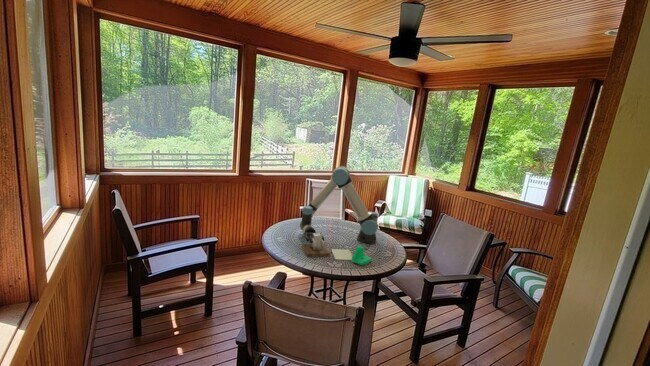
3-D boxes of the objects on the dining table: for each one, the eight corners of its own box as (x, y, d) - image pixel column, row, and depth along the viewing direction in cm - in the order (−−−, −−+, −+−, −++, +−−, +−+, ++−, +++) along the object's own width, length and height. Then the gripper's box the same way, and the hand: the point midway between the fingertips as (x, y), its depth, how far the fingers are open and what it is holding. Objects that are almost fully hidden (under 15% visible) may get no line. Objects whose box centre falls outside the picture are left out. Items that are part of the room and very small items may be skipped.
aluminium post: (317, 249, 209) (319, 233, 206) (320, 252, 204) (322, 236, 202) (310, 249, 207) (312, 233, 205) (313, 253, 202) (315, 236, 200)
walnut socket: (322, 246, 215) (323, 243, 215) (330, 256, 201) (330, 253, 200) (301, 246, 210) (301, 244, 210) (307, 256, 195) (307, 253, 195)
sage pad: (349, 250, 213) (349, 249, 213) (354, 260, 198) (354, 259, 198) (331, 249, 211) (331, 249, 211) (335, 259, 196) (335, 259, 196)
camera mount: (360, 266, 190) (362, 251, 188) (351, 262, 195) (353, 247, 193) (371, 262, 199) (373, 247, 197) (362, 257, 204) (364, 243, 202)
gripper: (320, 236, 224) (331, 249, 203) (296, 236, 218) (305, 249, 197) (321, 226, 223) (332, 238, 202) (297, 226, 217) (306, 238, 195)
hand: (319, 244), depth 199 cm, fingers closed on aluminium post, 5 cm apart
